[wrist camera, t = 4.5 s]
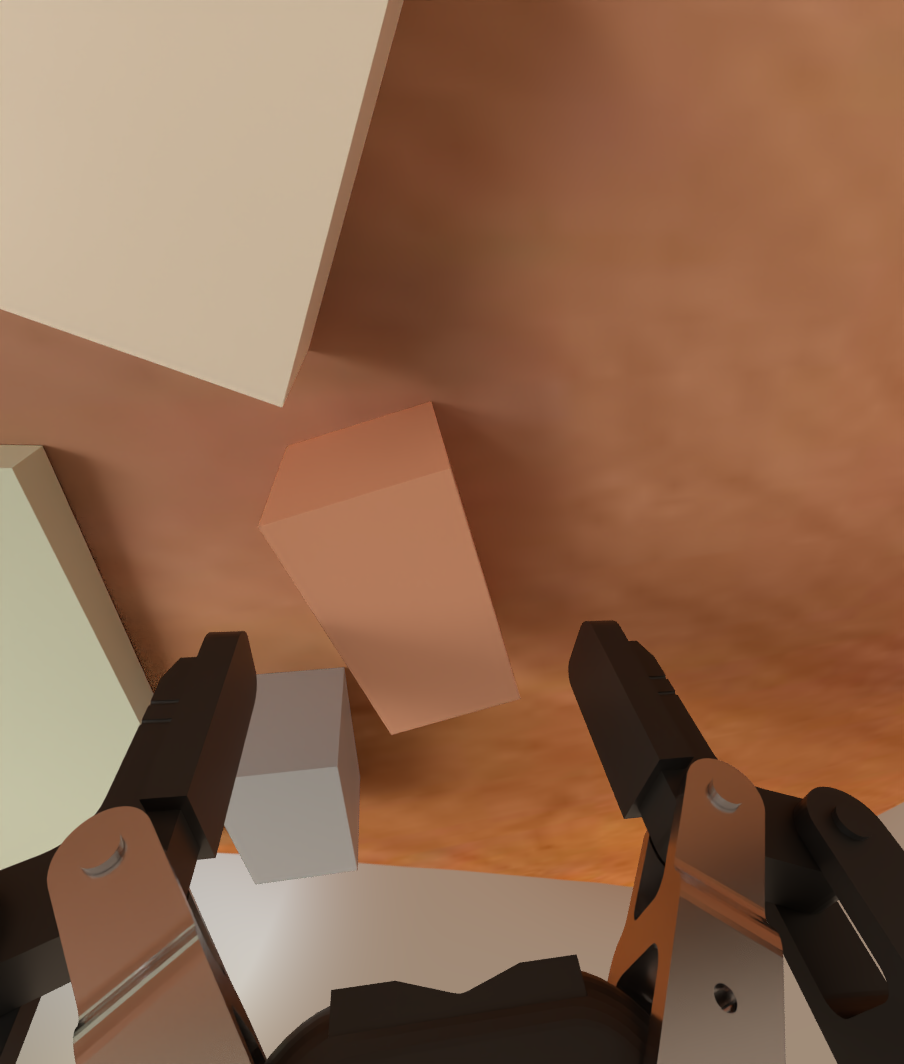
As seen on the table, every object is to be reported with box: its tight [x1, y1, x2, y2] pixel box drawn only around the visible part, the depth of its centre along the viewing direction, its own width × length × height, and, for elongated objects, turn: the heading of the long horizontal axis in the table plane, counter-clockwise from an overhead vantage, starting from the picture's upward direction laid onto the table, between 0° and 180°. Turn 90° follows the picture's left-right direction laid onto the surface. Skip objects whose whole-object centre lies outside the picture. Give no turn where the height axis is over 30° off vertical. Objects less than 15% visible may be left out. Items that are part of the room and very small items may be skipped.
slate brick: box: [224, 667, 360, 884], centre depth 18 cm, size 8×4×4 cm, turn 178°
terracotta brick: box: [258, 401, 521, 735], centre depth 13 cm, size 8×4×4 cm, turn 15°
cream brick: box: [0, 0, 404, 407], centre depth 7 cm, size 8×4×4 cm, turn 156°
